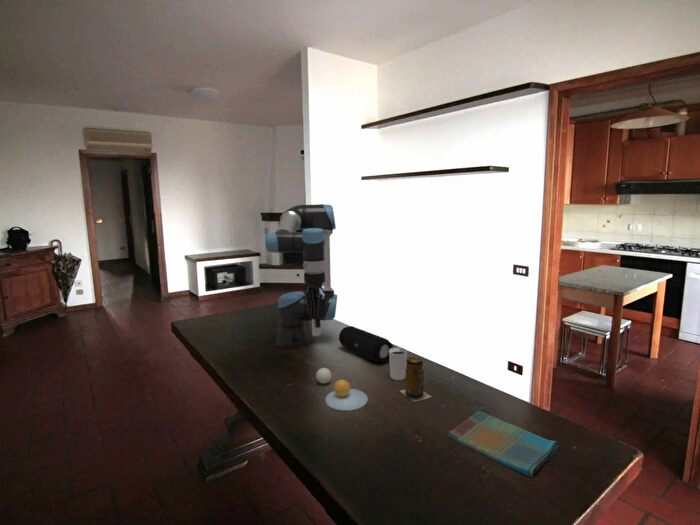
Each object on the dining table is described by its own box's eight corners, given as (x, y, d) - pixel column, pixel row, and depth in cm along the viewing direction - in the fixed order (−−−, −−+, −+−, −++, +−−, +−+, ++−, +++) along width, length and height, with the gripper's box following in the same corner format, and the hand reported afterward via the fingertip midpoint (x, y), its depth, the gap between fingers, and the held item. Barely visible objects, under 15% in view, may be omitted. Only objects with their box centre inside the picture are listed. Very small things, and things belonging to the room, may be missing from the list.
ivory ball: (329, 369, 138) (331, 384, 138) (330, 364, 144) (333, 379, 144) (313, 371, 139) (316, 387, 138) (315, 367, 144) (318, 382, 144)
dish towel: (532, 482, 92) (532, 472, 91) (446, 439, 109) (446, 430, 108) (559, 449, 103) (560, 440, 103) (477, 415, 120) (478, 407, 120)
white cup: (409, 374, 147) (409, 349, 145) (403, 381, 141) (404, 355, 140) (392, 371, 150) (392, 346, 148) (386, 378, 144) (386, 352, 142)
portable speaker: (337, 349, 173) (336, 327, 172) (354, 343, 179) (354, 322, 178) (377, 367, 154) (377, 343, 152) (395, 360, 160) (395, 337, 158)
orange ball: (344, 374, 131) (351, 388, 128) (346, 379, 136) (353, 393, 133) (329, 382, 131) (336, 397, 128) (332, 387, 135) (339, 401, 132)
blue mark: (338, 385, 139) (338, 385, 139) (374, 394, 133) (374, 393, 133) (317, 404, 127) (317, 403, 127) (356, 414, 120) (355, 414, 120)
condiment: (417, 386, 138) (417, 354, 136) (432, 397, 130) (432, 363, 128) (399, 391, 134) (399, 358, 132) (413, 402, 127) (414, 367, 125)
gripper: (297, 270, 143) (299, 332, 147) (313, 276, 132) (315, 342, 136) (315, 268, 147) (317, 328, 151) (332, 273, 136) (334, 338, 140)
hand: (316, 334), depth 144 cm, fingers closed
